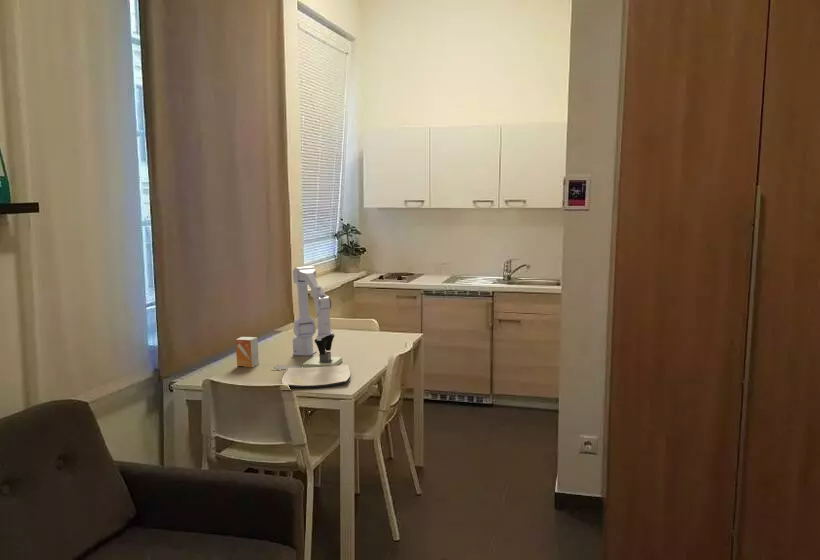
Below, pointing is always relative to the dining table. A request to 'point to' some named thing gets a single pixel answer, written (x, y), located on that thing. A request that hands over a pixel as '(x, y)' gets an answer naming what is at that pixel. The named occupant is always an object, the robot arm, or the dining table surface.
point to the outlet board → (316, 363)
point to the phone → (286, 367)
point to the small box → (247, 351)
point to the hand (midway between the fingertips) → (325, 352)
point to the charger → (325, 357)
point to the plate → (318, 376)
